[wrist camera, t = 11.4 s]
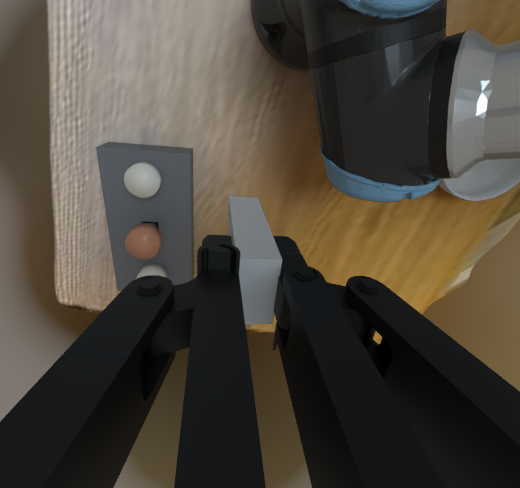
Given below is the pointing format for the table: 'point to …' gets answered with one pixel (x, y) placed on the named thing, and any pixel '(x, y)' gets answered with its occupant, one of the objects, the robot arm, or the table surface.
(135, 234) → the rust knob middle
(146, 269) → the cream knob
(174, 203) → the knob panel
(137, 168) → the cream knob
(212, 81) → the table surface
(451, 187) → the cereal bowl
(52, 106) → the table surface
